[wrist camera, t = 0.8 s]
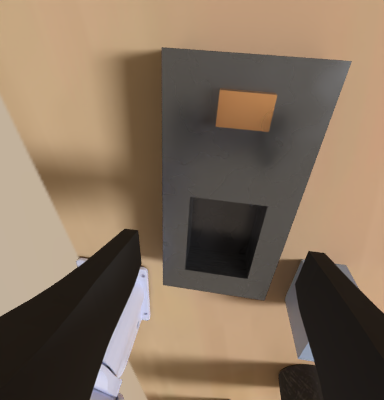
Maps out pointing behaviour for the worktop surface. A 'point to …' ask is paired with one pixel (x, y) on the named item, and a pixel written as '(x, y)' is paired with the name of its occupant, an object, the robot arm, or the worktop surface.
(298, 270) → the plug
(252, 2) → the worktop surface
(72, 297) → the robot arm
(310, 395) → the travel mug
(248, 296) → the grey slotted block
